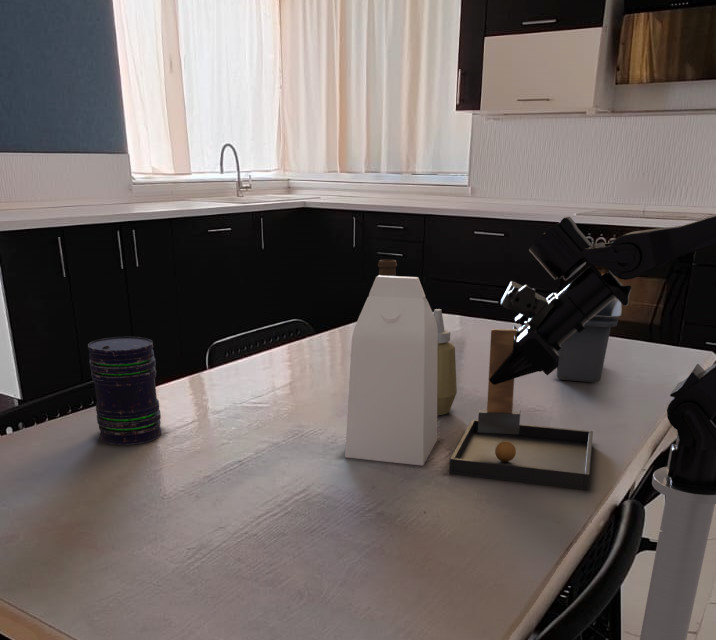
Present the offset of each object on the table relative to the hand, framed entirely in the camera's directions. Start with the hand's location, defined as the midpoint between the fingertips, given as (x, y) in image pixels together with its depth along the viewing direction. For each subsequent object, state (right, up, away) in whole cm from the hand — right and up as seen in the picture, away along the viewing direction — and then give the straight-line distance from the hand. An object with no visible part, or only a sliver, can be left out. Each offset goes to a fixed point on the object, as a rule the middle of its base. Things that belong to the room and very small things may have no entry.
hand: (491, 378), depth 114 cm
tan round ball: (+2, -11, -1) cm, 11 cm away
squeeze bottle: (-6, -2, +24) cm, 25 cm away
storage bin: (+26, +9, +50) cm, 57 cm away
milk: (-15, -10, +6) cm, 19 cm away
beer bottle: (-14, +5, +40) cm, 43 cm away
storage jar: (-57, -8, +11) cm, 58 cm away
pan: (+5, -12, +2) cm, 13 cm away
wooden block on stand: (+1, -8, +2) cm, 8 cm away
